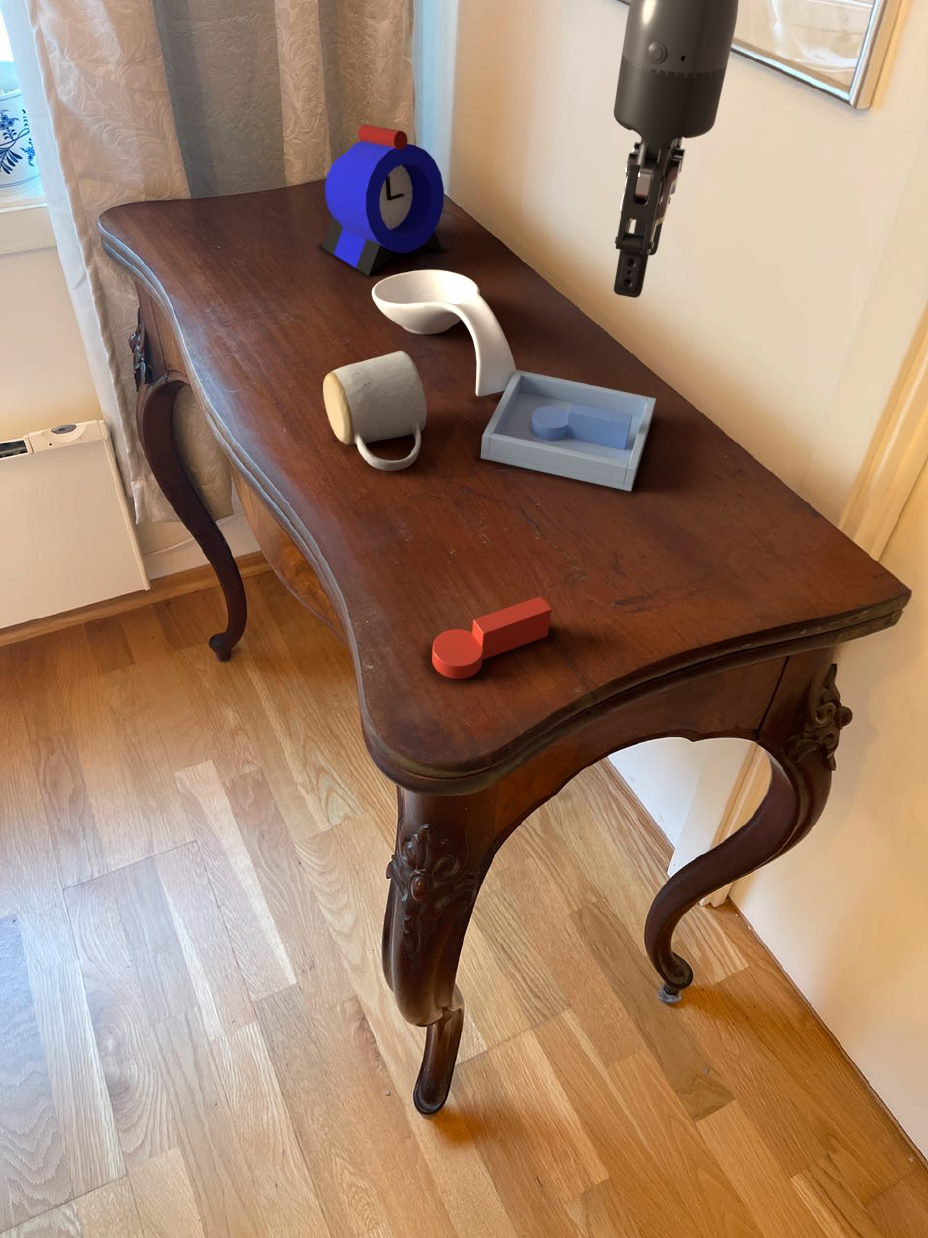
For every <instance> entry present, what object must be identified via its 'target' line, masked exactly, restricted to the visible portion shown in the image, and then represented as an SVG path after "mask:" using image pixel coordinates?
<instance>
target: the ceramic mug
mask: <svg viewBox="0 0 928 1238" xmlns="http://www.w3.org/2000/svg"><path fill="white" fill-rule="evenodd" d="M322 383H323V384H322V395H323V401H324V406H325V410H326V414H327V418H328V421H329V424H330V426H331V429H332V431H333V433H334V435H335V436H336V438H337V439H338V440H339V441H340V442H341V443H343V444H344V445H347V446H352V445H353V446H357V449H358V452H359V454H360V455H361V456H362V458H363V459H364V460H365V461H366V462H367V463H368V464H369V465H370V466H372V467H373V468H375V469H378V470H381V471H386V472H395V471H400V470H405V469H406V468H408V467H409V466H411V465H412V464H413V463H414V462H415V461H416V459H417V457H418V455H419V452H420V449H421V442H422V436H421V435H422V434H421V433H422V431H424V429H425V427H426V422H427V411H428V410H427V402H426V396H425V391H424V386H423V382H422V380H421V377H420V375H419V371H418V369H417V367H416V365H415V363H414V361H413V359H412V358H411V357H410V355H409V354H408V353H406V352H405V351H403V350H400V351H399V350H398V351H395V352H391V353H388V354H384V355H381V356H376V357H373V358H370V359H366V360H364V361H363V360H362V361H359V362H356V363H355V362H354V363H351V364H347V365H343V366H341V367H338V368H336V369H334V370H332V371H330V372H329V373H327V374H326V375H325V377H324V380H323V382H322ZM410 435H413V437H414V445H415V446H414V447H413V449H412V450H411V451H410V454H408V455H407V456H406V458H402V459H400V460H391V459H389V460H388V459H383V458H381V457H378V456H376V455H375V454H373V453H372V452H371V451H370V450H369V448H368V447H367V445H366V444H369V443H374V442H378V441H384V440H391V439H396V438H401V437H405V436H410Z"/></svg>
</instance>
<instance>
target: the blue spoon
mask: <svg viewBox="0 0 928 1238" xmlns="http://www.w3.org/2000/svg"><path fill="white" fill-rule="evenodd" d="M632 417H633V416H632V415H627V414H622V413H618V412H613V411H608V410H603V409H598V408H594V407H589V406H584V405H579V404H574V403H572V404H571V406H570V409H569V411H568V412H567V411H565V410H564V409H561V408H558V407H554V406H545V407H540V408H538V409H536V410H535V411H534V412H533V415H532V423H531V430H532V432H533V434H534V435H536V436H537V437H539V438H541V439H544V440H549V441H556V440H561V439H564V438H565V437H566V438H570V439H575V440H579V441H584V442H589V443H593V444H598V445H603V446H607V447H612V448H617V449H621V450H625V447H626V444H627V440H628V436H629V431H630V426H631V422H632Z"/></svg>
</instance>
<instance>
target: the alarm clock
mask: <svg viewBox="0 0 928 1238" xmlns="http://www.w3.org/2000/svg"><path fill="white" fill-rule="evenodd" d="M357 133H358V134H357V135H358V136H357V137H358V140H359V142H357V143H355V144H353V145H352V146H351V147H350V148H349V150H347V151H346V152H345V153H343V154H341V155H340V156H339V157H337V159H336V160H335V161H334V162H333V163H332V165H331V167H330V169H329V171H328V172H327V175H326V181H325V186H324V189H325V191H324V192H325V195H324V196H325V201H326V205H327V208H328V210H329V213H330V214H331V216H332V219H331V222H330V225H329V228H328V231H327V233H326V236H325V240H324V242H323V245H322V249H323V250H326V251H327V252H329V253H330V254H332V255H334V256H335V257H337V258H339V259H340V260H342V261H344V262H345V263H347V264H349V265H350V266H351V267H353V268H355V269H356V270H358V271H360V272H362V273H363V274H364V275H366V276H368V277H369V276H370V275H371V274H373V273H374V272H375V271H376V270H377V269H378V268H379V267H380V266H382V265H383V264H384V263H386V262H387V261H388V260H389V259H390V258H391V257H392V256H393V255H392V254H391V253H390V252H394V253H397V254H404V253H412V252H414V251H415V250H417V249H419V248H420V247H422V246H423V247H427V248H432V249H436V250H440V251H444V249H443V246H442V244H441V242H440V240H439V237H438V235H437V232H436V229H437V228H438V227H437V226H438V225H439V223H440V220H441V217H442V212H443V208H444V201H445V199H444V198H445V197H444V196H445V187H444V182H443V181H444V180H443V176H442V173H441V170H440V168H439V166H438V164H437V162H436V160H435V159H434V157H432V155H431V154H430V153H429V152H428V151H427V150H426V149H424V148H422V147H420V146H417V145H415V144H411V143H408V135H407V133H406V132H405V131H403V130H399V129H392V128H387V127H381V126H378V125H377V126H375V125H369V124H362V125H361V126H360V127H359V129H358V131H357ZM389 251H390V252H389Z"/></svg>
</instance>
